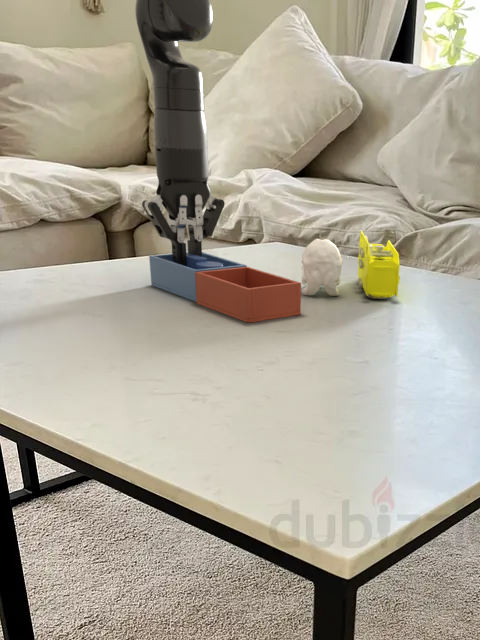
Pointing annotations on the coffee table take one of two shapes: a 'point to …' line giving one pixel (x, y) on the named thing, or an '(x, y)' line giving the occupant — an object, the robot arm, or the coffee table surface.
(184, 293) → the blue bin
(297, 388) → the coffee table surface
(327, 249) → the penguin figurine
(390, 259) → the yellow toy chassis
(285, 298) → the red bin
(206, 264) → the blue spoon
